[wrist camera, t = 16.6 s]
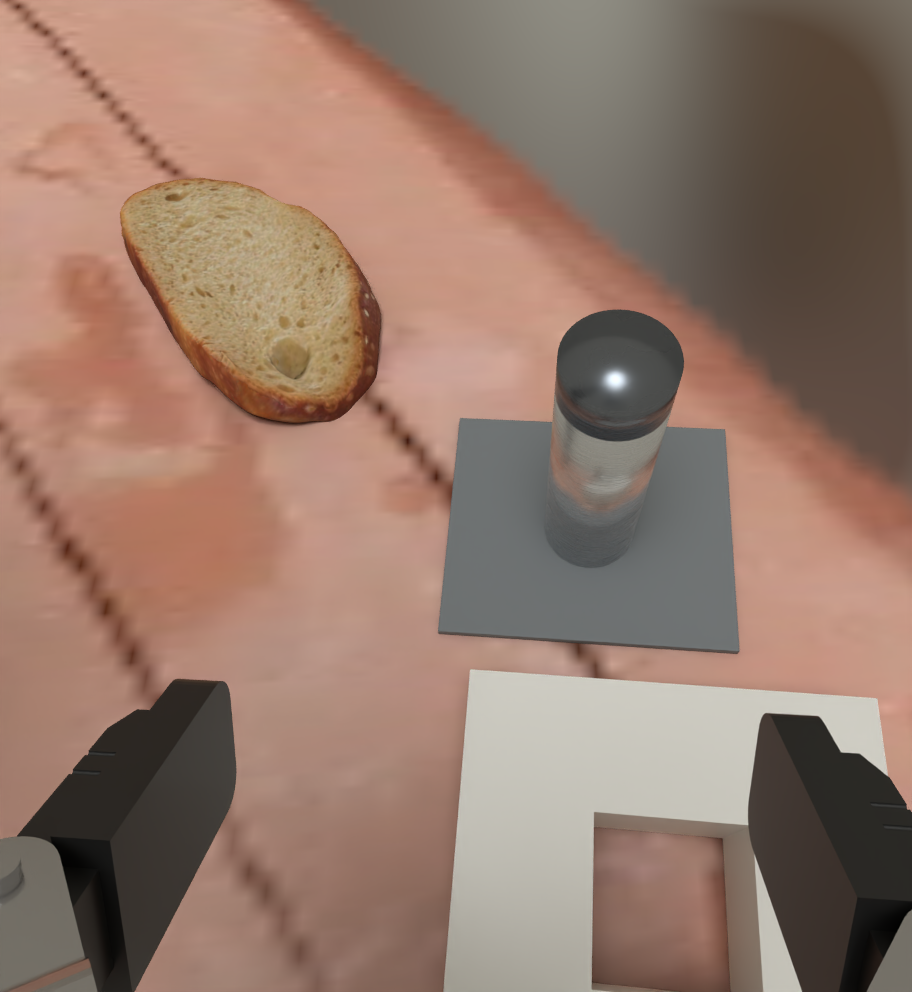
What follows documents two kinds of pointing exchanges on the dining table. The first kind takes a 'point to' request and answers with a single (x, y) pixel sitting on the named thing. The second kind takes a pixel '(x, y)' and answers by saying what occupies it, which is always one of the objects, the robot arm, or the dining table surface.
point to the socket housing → (609, 816)
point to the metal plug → (607, 431)
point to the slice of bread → (256, 296)
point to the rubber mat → (577, 590)
